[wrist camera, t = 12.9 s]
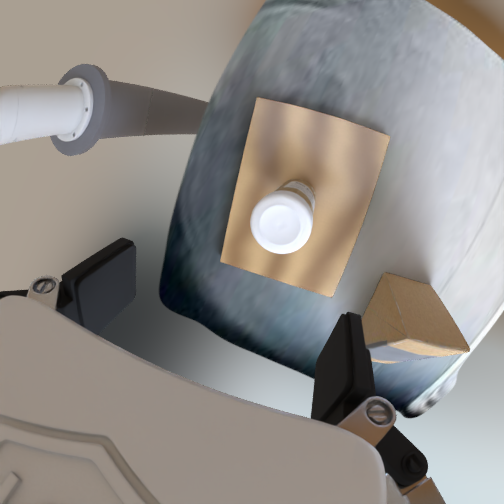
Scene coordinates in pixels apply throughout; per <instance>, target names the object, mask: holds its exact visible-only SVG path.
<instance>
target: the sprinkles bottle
mask: <svg viewBox="0 0 504 504" xmlns="http://www.w3.org/2000/svg"><path fill="white" fill-rule="evenodd" d="M315 202H316V194H315V191H314V189H313V187H312V186H311V185H310V184H309V183H308V182H307V181H305V180H302V179H297V178H296V179H290V180H288V181H286V182H285V183H283V185H281V186H280V187H278V188H277V189H276V190H275V191H274V192H272V193H269V194H268V195H266V196H265V197H263V198H262V199H261V200H260V201H259V202H258V203H257V204H256V206H255V207H254V209H253V211H252V214H251V219H250V226H251V231H252V234H253V236H254V238H255V239H256V241H257V242H258V243H259V244H260V245H261V246H262V247H263V248H265V249H266V250H268V251H270V252H273V253H278V254H287V253H292V252H294V251H296V250H298V249H300V248H301V247H302V246H303V245H304V244H305V243H306V242H307V240H308V238H309V236H310V234H311V230H312V225H313V212H314V206H315Z"/></svg>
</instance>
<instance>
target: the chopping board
mask: <svg viewBox="0 0 504 504" xmlns="http://www.w3.org/2000/svg"><path fill="white" fill-rule="evenodd" d="M389 140H390V136H388V135H386V134H383V133H381V132H378V131H375V130H373V129H370V128H367V127H365V126H362V125H359V124H356V123H353V122H350V121H347V120H344V119H341V118H338V117H335V116H332V115H328V114H325V113H322V112H318V111H315V110H311V109H307V108H303V107H300V106H296V105H292V104H287V103H283V102H279V101H274V100H269V99H265V98H260V97H257V99H256V103H255V107H254V111H253V115H252V119H251V123H250V128H249V132H248V136H247V140H246V144H245V149H244V153H243V157H242V162H241V166H240V170H239V175H238V179H237V184H236V188H235V193H234V198H233V202H232V207H231V211H230V216H229V221H228V226H227V230H226V235H225V240H224V245H223V250H222V255H221V260H220V262H223V263H226V264H229V265H232V266H235V267H238V268H241V269H244V270H247V271H250V272H253V273H256V274H259V275H262V276H265V277H268V278H271V279H275V280H278V281H281V282H284V283H287V284H290V285H293V286H296V287H299V288H303V289H306V290H309V291H312V292H315V293H319V294H322V295H325V296H328V297H331V298H332V297H333V295H334V293H335V290H336V288H337V286H338V284H339V281H340V279H341V277H342V274H343V272H344V270H345V267H346V265H347V262H348V260H349V257H350V255H351V252H352V250H353V247H354V245H355V242H356V240H357V237H358V235H359V232H360V229H361V227H362V224H363V221H364V218H365V216H366V213H367V210H368V207H369V204H370V201H371V198H372V195H373V192H374V189H375V186H376V183H377V180H378V177H379V174H380V171H381V167H382V164H383V161H384V157H385V154H386V151H387V147H388V143H389ZM296 178H297V179H302V180H305V181H307V182H308V183H309V184H310V185H311V186H312V187H313V189H314V191H315V194H316V202H315V206H314V212H313V225H312V230H311V234H310V236H309V238H308V240H307V242H306V243H305V244H304V245H303V246H302V247H301V248H300V249H298V250H296V251H294V252H292V253H287V254H278V253H273V252H270V251H268V250H266V249H265V248H263V247H262V246H261V245H260V244H259V243H258V242H257V241H256V239H255V238H254V236H253V234H252V231H251V226H250V219H251V214H252V211H253V209H254V207H255V206H256V204H257V203H258V202H259V201H260V200H261V199H262V198H263V197H265V196H266V195H268V194H269V193H272V192H274V191H275V190H276V189H277V188H278V187H280V186H281V185H283V183H285V182H286V181H288V180H290V179H296Z"/></svg>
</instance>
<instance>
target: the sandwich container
mask: <svg viewBox="0 0 504 504" xmlns="http://www.w3.org/2000/svg"><path fill="white" fill-rule="evenodd" d="M362 326H363V332H364V338H365V345H366V349H369V351H370V354H371V361H375V362H381V363H387V364H389V363H396V362H404V361H412V360H420V359H427V358H434V357H442V356H448V355H455V354H461V353H467V352H469V351H470V348H469V346H468V344H467V342H466V340H465V339H464V337H463V335H462V333H461V332H460V330H459V328H458V327H457V325H456V323H455V322H454V320H453V318H452V317H451V315H450V313H449V312H448V310H447V309H446V307H445V306H444V304H443V302H442V301H441V299H440V298H439V296H438V295H437V294H436V292H435V291H434V289H433V288H432V286H431V285H428V284H424V283H421V282H418V281H414V280H411V279H407V278H404V277H400V276H397V275H393V274H390V273H386V272H384V273H383V275H382V277H381V279H380V281H379V284H378V286H377V288H376V290H375V292H374V294H373V296H372V298H371V300H370V302H369V304H368V306H367V308H366V311H365V313H364V315H363V317H362Z"/></svg>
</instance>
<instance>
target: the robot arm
mask: <svg viewBox="0 0 504 504" xmlns="http://www.w3.org/2000/svg"><path fill="white" fill-rule="evenodd" d="M93 102H94V100H93V91H92V88H91V86H90V84H89V83H88V81H86V80H85V79H82V78H73V79H70V80H69V81H67V82H66V83H65V84H64V85H10V86H9V85H8V86H2V87H0V145H3V144H7V143H11V142H16V141H21V140H27V139H33V138H39V137H45V136H52V135H56V136H57V137H58V138H59V139H60V140H62V141H65V142H66V141H73V140H75V139H77V138H79V137H80V136H81V135H82V134H83V132H84V131H85V129H86V128H87V126H88V124H89V121H90V119H91V115H92V111H93ZM135 295H136V246H135V245H134V243H133V241H130V240H128V239H125V238H120V239H118V240H117V241H115V242H113V243H112V244H110V245H108V246H107V247H105V248H103V249H102V250H100V251H99V252H97V253H95V254H94V255H92V256H91V257H89V258H87V259H86V260H84V261H83V262H81V263H80V264H78V265H77V266H75V267H74V268H72V269H71V270H69V271H67V272H66V273H65V274H63V275H62V281H61V282H60V283H59V281H58V279H57V278H55V277H53V276H41V277H38V278H36V279H35V280H34V281H33V282H32V283H31V284H30V287H29V290H17V291H2V292H0V504H446V503H445V501H444V500H443V498H442V496H441V494H440V492H439V491H438V489H437V487H436V486H435V483H434V482H433V480H432V478H431V477H430V478H427V477H426V473H427V469H428V463H427V460H426V457H425V456H424V455H423V453H421V452H420V451H419V450H418V449H417V448H416V447H415V446H414V445H413V444H412V443H411V442H410V441H409V440H408V439H407V438H406V437H405V436H404V435H403V434H402V433H401V432H400V431H399V430H398V429H397V428H396V427H395V426H394V423H395V421H396V411H395V409H394V407H393V405H392V404H391V403H390V402H389V401H387V400H386V399H384V398H381V397H377V396H376V393H375V384H374V376H373V368H372V361H371V354H370V351H369V349H366V345H365V338H364V332H363V326H362V320H361V316H360V315H358V314H354V313H351V312H347V313H346V314H342V315H341V316H340V318H339V320H338V322H337V324H336V326H335V328H334V329H333V331H332V333H331V335H330V337H329V339H328V341H327V343H326V344H325V346H324V348H323V350H322V352H321V353H320V355H319V357H318V359H317V362H316V369H315V382H314V392H313V402H312V412H311V419H310V418H307V417H303V416H299V415H295V414H291V413H288V412H284V411H280V410H277V409H273V408H270V407H266V406H263V405H260V404H256V403H253V402H250V401H247V400H244V399H241V398H238V397H234V396H232V395H228V394H226V393H223V392H220V391H217V390H215V389H211V388H209V387H206V386H204V385H201V384H199V383H196V382H194V381H191V380H189V379H186V378H184V377H181V376H179V375H177V374H174V373H172V372H170V371H167V370H165V369H163V368H161V367H158V366H156V365H154V364H152V363H150V362H148V361H145V360H144V359H141V358H139V357H137V356H135V355H133V354H131V353H129V352H127V351H125V350H124V349H122V348H120V347H118V346H116V345H114V344H112V343H110V342H108V341H107V340H105V339H103V338H101V337H99V336H98V335H99V333H100V332H102V331H103V329H105V327H106V326H107V325H108V324H110V322H112V321H113V320H114V319H115V317H117V316H118V315H119V314H120V313H121V312H122V311H123V310H124V308H126V307H127V306H128V305H129V304H130V303H131V302H132V301H133V300H134V298H135Z"/></svg>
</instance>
